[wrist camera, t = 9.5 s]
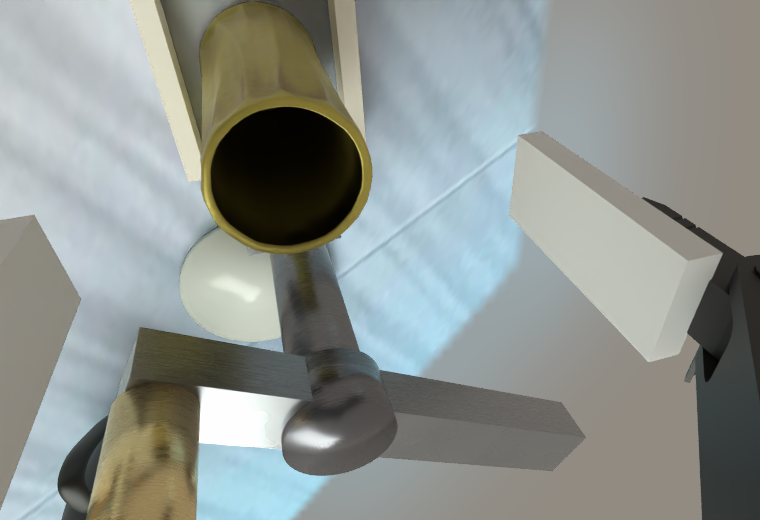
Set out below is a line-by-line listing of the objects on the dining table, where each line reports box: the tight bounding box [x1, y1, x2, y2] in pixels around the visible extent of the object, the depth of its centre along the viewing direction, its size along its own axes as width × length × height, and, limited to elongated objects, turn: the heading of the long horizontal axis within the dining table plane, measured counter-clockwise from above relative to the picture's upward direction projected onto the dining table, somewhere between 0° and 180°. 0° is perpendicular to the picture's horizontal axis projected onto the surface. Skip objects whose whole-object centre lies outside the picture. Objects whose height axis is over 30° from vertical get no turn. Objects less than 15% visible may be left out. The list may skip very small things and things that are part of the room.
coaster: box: [179, 227, 281, 342], centre depth 33 cm, size 10×10×1 cm
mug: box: [58, 415, 109, 520], centre depth 34 cm, size 8×12×10 cm
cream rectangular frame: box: [129, 0, 366, 182], centre depth 25 cm, size 10×10×2 cm
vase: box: [199, 2, 372, 254], centre depth 20 cm, size 6×6×14 cm
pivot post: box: [247, 235, 359, 357], centre depth 25 cm, size 6×6×15 cm
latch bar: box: [86, 327, 586, 520], centre depth 17 cm, size 19×4×7 cm, turn 61°
